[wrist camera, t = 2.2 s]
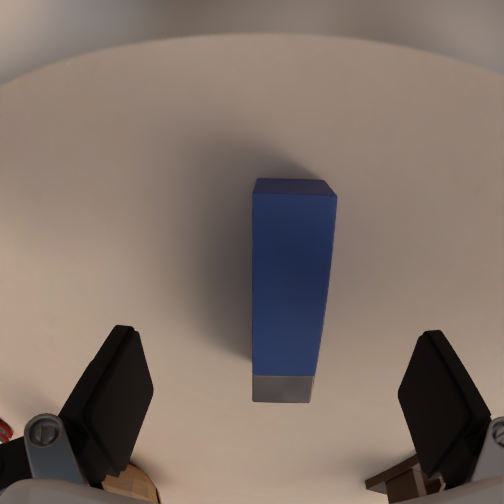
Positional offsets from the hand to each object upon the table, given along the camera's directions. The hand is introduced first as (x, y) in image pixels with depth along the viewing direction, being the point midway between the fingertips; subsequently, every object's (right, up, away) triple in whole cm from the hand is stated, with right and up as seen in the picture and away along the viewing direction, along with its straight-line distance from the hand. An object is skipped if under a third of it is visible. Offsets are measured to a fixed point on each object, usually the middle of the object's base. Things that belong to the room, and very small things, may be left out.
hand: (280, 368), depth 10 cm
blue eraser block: (+1, +2, +5) cm, 6 cm away
